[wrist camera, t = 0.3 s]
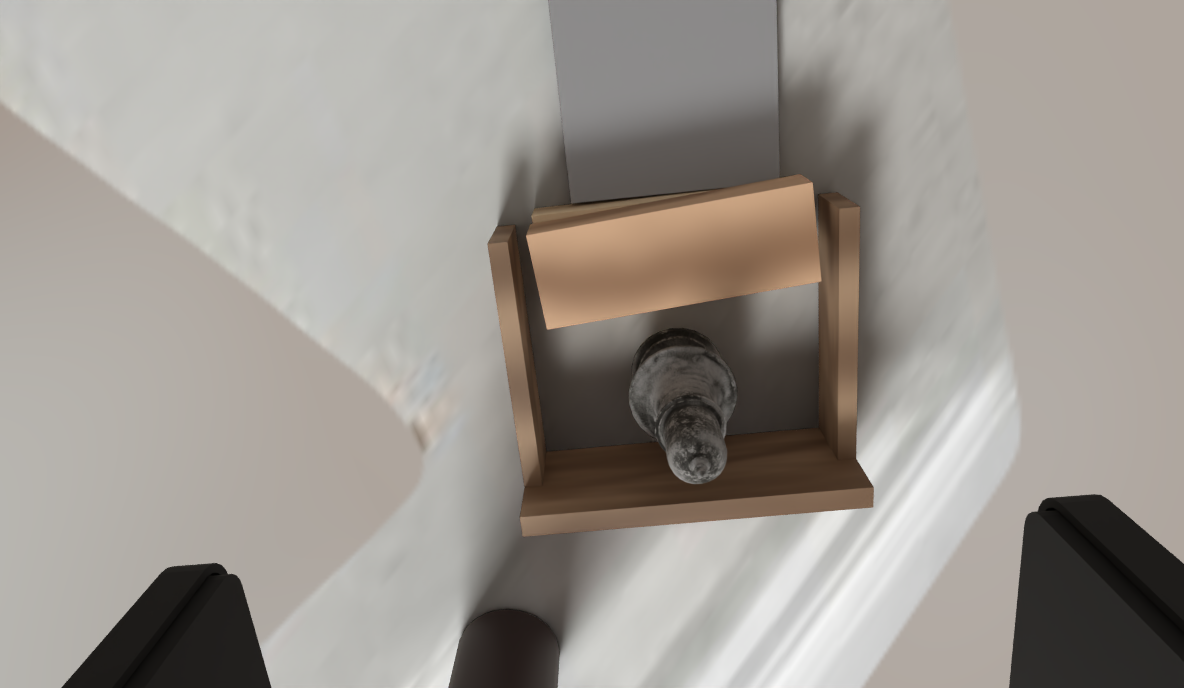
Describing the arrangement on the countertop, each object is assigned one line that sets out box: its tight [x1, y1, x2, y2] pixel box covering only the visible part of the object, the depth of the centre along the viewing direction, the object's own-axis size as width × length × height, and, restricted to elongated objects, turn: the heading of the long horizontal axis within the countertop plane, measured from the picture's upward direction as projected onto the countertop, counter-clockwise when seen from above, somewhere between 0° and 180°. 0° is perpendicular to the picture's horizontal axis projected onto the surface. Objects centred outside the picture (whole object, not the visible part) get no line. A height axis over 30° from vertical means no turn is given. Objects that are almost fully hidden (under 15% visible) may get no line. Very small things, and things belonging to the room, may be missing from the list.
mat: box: [548, 0, 780, 203], centre depth 40 cm, size 11×11×1 cm
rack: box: [488, 192, 874, 537], centre depth 43 cm, size 16×18×7 cm
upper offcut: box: [526, 174, 821, 330], centre depth 41 cm, size 5×14×2 cm, turn 101°
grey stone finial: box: [629, 328, 737, 484], centre depth 41 cm, size 6×6×12 cm
